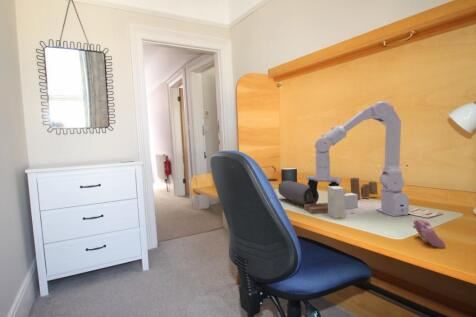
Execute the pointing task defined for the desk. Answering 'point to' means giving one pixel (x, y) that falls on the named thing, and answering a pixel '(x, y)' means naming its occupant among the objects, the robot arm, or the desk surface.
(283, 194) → the bluetooth speaker
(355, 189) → the wooden block set
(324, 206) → the base slab
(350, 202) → the brick
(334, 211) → the skincare box
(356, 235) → the desk surface
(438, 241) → the pink lumpy wedge
